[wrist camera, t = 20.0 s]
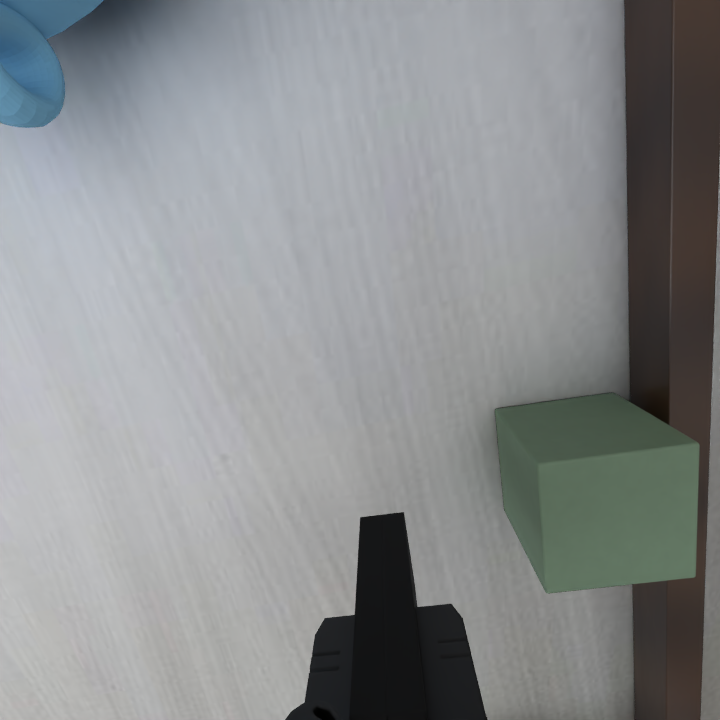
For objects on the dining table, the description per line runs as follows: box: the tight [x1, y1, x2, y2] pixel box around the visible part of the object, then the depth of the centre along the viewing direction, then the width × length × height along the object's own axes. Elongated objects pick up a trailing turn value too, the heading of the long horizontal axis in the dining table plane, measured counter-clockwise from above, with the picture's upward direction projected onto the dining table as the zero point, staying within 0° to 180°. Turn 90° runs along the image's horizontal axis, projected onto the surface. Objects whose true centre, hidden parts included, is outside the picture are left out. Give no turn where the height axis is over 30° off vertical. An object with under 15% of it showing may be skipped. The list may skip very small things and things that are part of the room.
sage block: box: [495, 393, 700, 593], centre depth 17 cm, size 5×5×5 cm
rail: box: [625, 0, 720, 720], centre depth 16 cm, size 44×2×2 cm, turn 9°
